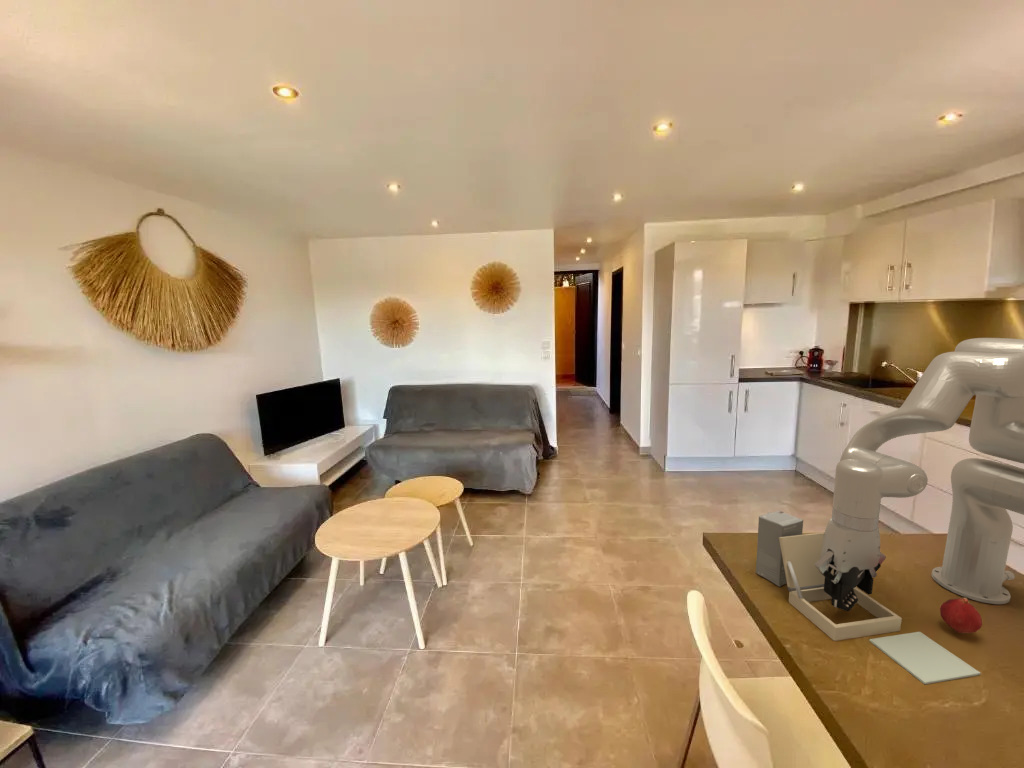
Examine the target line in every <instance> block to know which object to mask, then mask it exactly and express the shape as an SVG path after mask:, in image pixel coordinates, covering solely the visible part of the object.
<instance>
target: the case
mask: <svg viewBox="0 0 1024 768" xmlns="http://www.w3.org/2000/svg"><path fill="white" fill-rule="evenodd" d="M824 533H825V531H824V532H823V531H822V532H815V533H805V534H802V535H795V536H786V537H779V541H780V547H781V552H782V558H783V563H784V569H785V574H786V580H787V583H786V585H787V590H788V591H789V595H788V603H789V604H791V605H792V606H793V607H794V608H795V609H796V610H798V611H799V613H801V614H802V615H803V616H804V617H806V618H807V619H808V620H809V621H811V623H813V624H814V625H815V626H816V627H817V628H819V629H820V630H821V631H822V632H823V633H825V634H826V635H827V636H828V637H829V638H830V639H831V640H832V641H834V642H835V641H842V640H849V639H856V638H861V637H862V638H863V637H868V636H875V635H881V634H888V633H895V632H901V626H902V625H901V624H902V619H903V618H902V617H901V616H899V615H898V614H896V613H895V612H894V611H892V610H891V609H889V608H888V607H886V606H885V605H883V604H882V603H880V602H879V601H877V600H876V599H874V598H873V597H872V596H870V595H869V594H867V593H865V592H864V591H862V590H861V589H859V588H858V587H855V588H853V590H854V592H855V594H856V596H857V598H858V601H857V603H856V604H857V605H859V607H860V606H861V607H862V608H863V609H865V611H867V612H869V613H870V614H872V615H873V616H874V617H875V618H871V619H864V620H857V621H851V622H842V623H838V624H837V623H834V622H833V621H832V620H831V619H830V618H828V617H827V616H826V615H824V614H823V613H822V612H821V611H819V609H817V608H816V607H815V606H814V605H812V604H811V602H819V601H824V600H832V597H831V596H830V595H828V594H827V593H826V592H825V591H824V581H825V577H824V576H823V575H822V574H821V573H820V572H819V570H818V569H817V568H816V566H815V563H816V562H817V561H818V560H819V559H820V558H821V548H822V542H823V537H824ZM834 565H835V564H834ZM831 574H832V575H833V574H834V569H832V571H831Z"/></svg>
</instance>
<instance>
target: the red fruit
mask: <svg viewBox="0 0 1024 768" xmlns="http://www.w3.org/2000/svg"><path fill="white" fill-rule="evenodd" d="M968 599H969V598H966V597H962V598H952V599H948V600H946V601H944V602H943V603H942V604H941V605H940V607H939V613H940V617H941V619H942V621H943V622H945V624H947V625H948V627H950V628H951V629H953V631H954V632H955V633H958V634H974V633H976V632H978V631H979V630H980V629H981V628H982V626H983V621H982V617H981V614H980V613H979V611H978V610H977V609H976V608H975V607H974V606H973V605H972V604H971V603H969V600H968Z"/></svg>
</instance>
